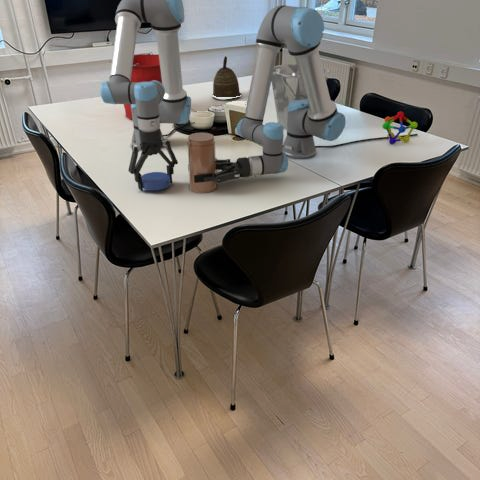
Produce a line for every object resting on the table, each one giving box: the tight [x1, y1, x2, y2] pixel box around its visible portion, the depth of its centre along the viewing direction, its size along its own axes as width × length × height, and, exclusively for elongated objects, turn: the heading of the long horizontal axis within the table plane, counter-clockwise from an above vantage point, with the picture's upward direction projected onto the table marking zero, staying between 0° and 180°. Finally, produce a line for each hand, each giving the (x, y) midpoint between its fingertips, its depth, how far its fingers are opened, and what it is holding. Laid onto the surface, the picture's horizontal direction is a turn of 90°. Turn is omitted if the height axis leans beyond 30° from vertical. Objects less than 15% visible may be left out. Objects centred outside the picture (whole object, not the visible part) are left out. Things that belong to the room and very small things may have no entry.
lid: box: [141, 171, 172, 191], centre depth 166 cm, size 11×11×2 cm
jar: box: [187, 132, 217, 194], centre depth 163 cm, size 10×10×20 cm
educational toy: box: [382, 110, 418, 145], centre depth 207 cm, size 16×13×15 cm
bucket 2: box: [271, 63, 330, 130], centre depth 226 cm, size 30×30×28 cm
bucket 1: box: [108, 51, 162, 121], centre depth 240 cm, size 35×35×30 cm
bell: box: [212, 56, 242, 97], centre depth 278 cm, size 19×26×20 cm
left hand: (155, 185), depth 167 cm, fingers closed on lid, 11 cm apart
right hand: (191, 173), depth 164 cm, fingers closed on jar, 10 cm apart
